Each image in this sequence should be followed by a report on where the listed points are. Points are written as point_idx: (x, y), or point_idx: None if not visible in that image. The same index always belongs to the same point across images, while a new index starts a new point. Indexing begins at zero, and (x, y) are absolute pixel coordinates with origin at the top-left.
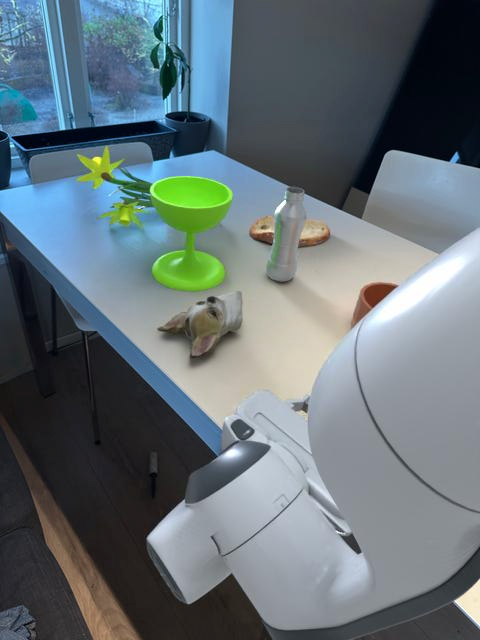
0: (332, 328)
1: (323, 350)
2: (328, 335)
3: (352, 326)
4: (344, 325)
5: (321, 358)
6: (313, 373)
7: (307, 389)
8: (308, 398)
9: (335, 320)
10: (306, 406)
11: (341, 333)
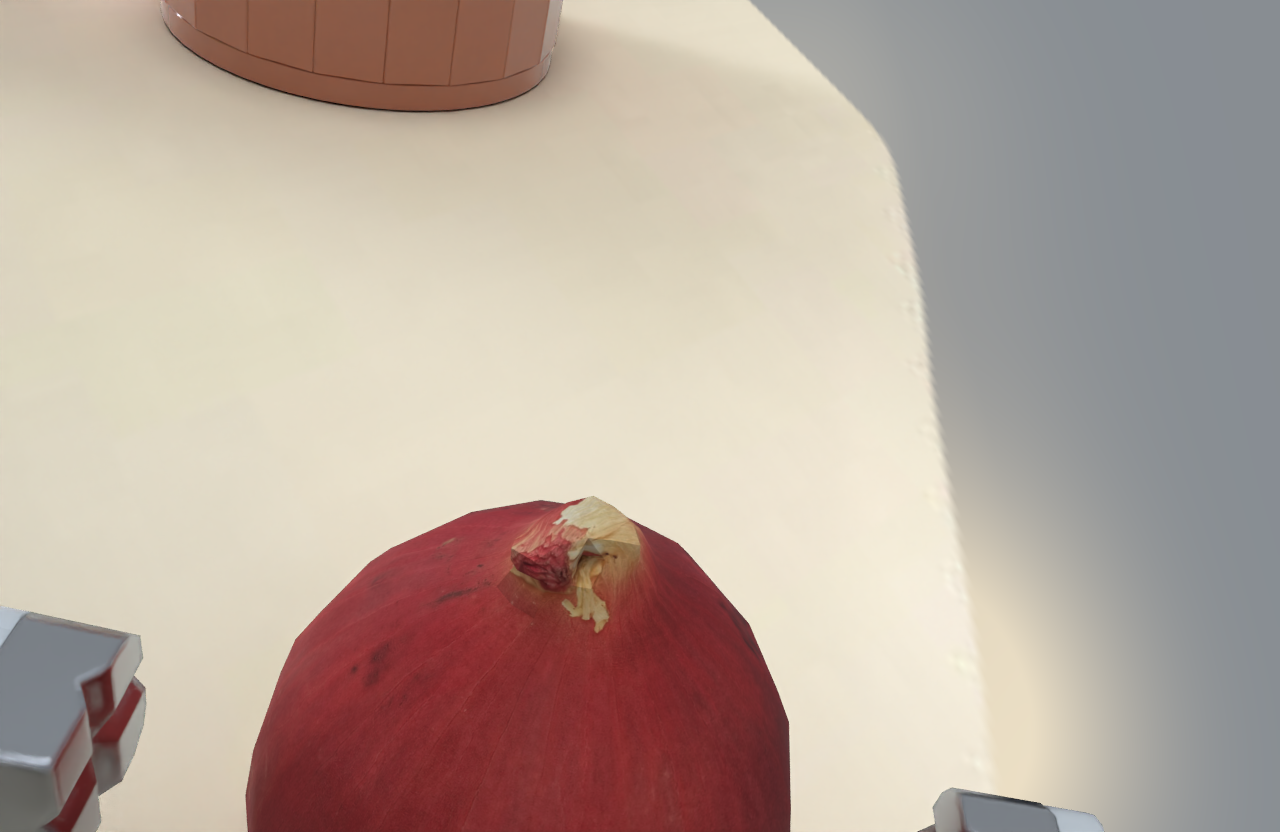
0: (52, 68)
1: (39, 201)
2: (40, 108)
3: (184, 32)
4: (129, 41)
5: (45, 255)
6: (16, 381)
7: (6, 536)
8: (7, 664)
9: (55, 26)
10: (21, 803)
11: (130, 83)
